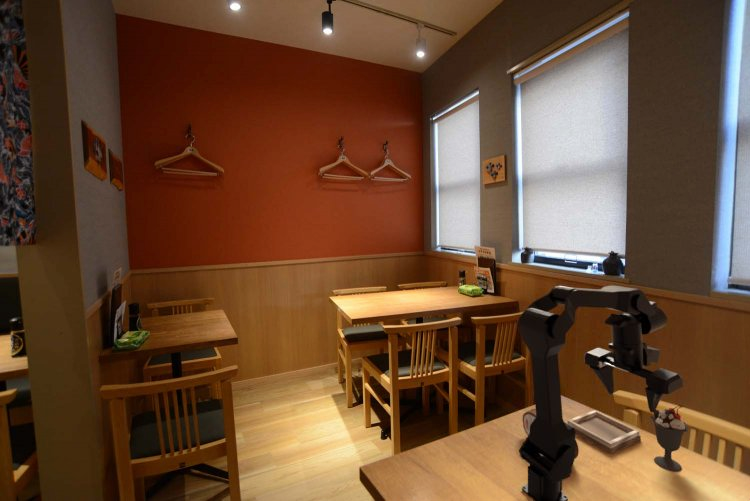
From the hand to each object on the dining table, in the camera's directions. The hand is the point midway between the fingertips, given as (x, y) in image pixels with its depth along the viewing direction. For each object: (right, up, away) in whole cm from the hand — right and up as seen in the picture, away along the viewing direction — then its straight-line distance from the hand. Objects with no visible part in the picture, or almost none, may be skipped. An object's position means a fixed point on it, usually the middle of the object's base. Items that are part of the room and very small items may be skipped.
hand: (630, 402), depth 82 cm
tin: (-17, -15, +5) cm, 23 cm away
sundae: (+8, -14, -1) cm, 16 cm away
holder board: (0, -13, +11) cm, 17 cm away
